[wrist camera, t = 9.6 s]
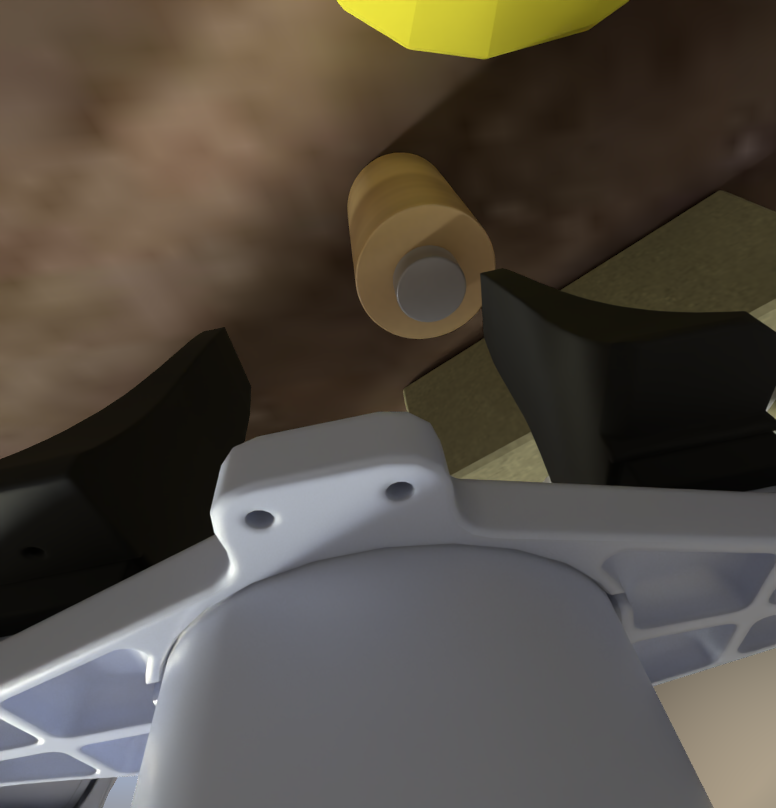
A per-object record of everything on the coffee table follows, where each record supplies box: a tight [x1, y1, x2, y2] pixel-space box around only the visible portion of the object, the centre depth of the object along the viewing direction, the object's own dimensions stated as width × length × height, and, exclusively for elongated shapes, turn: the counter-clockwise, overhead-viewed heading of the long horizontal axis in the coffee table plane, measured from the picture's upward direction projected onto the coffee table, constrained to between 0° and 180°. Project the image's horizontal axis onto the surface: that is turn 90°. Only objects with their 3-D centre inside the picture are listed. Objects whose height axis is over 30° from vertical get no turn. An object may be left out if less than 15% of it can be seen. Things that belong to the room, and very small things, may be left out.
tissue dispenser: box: [403, 190, 776, 483], centre depth 21 cm, size 19×10×16 cm, turn 125°
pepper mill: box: [347, 153, 496, 339], centre depth 18 cm, size 5×5×9 cm
